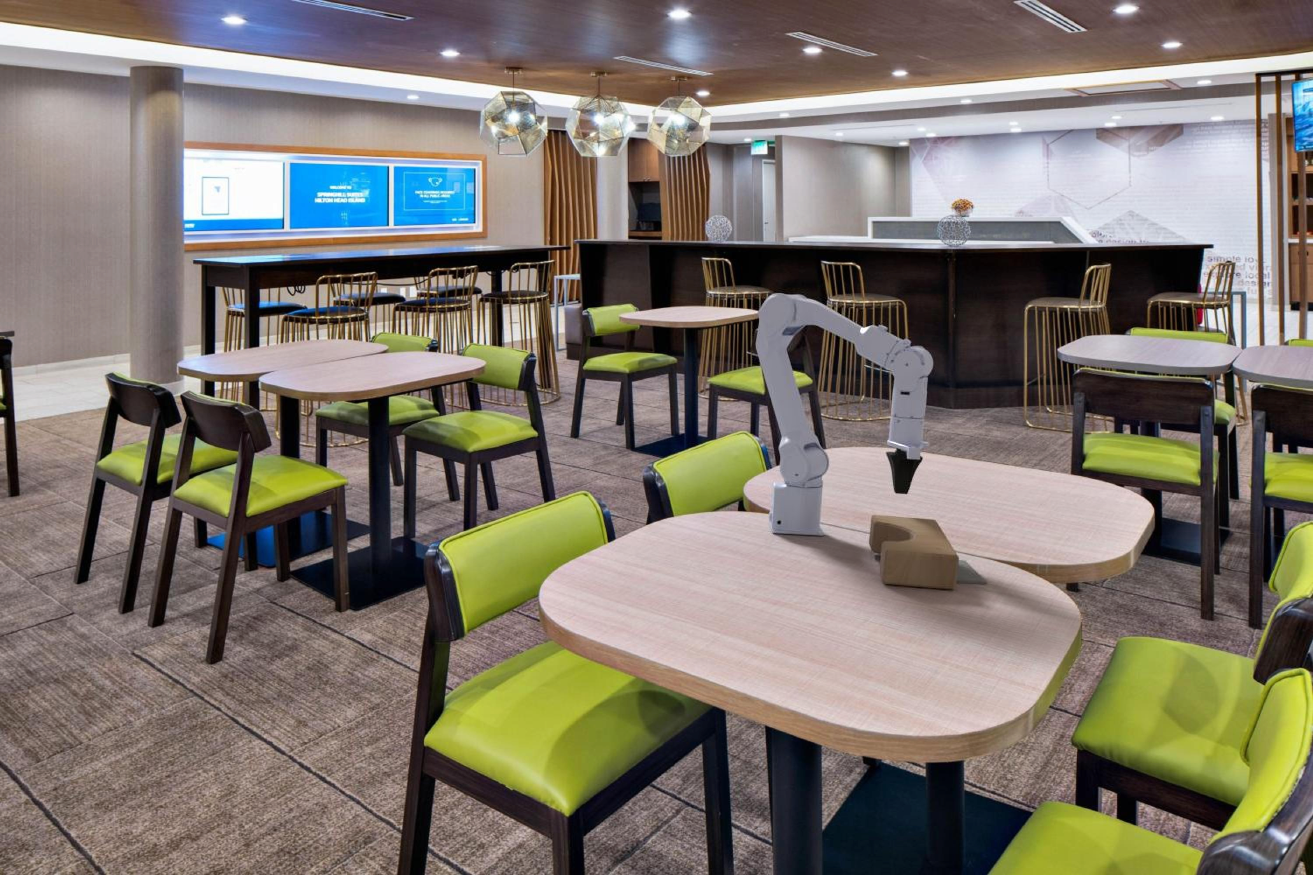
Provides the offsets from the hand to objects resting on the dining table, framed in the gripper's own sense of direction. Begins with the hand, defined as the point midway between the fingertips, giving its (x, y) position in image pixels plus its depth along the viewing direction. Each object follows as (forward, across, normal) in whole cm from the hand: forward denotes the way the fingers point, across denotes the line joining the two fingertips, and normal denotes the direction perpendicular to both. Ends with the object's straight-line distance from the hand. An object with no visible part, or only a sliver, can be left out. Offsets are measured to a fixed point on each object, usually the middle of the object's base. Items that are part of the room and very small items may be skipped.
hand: (900, 493), depth 166 cm
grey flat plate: (+10, -14, -3) cm, 17 cm away
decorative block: (+6, -4, 0) cm, 7 cm away
